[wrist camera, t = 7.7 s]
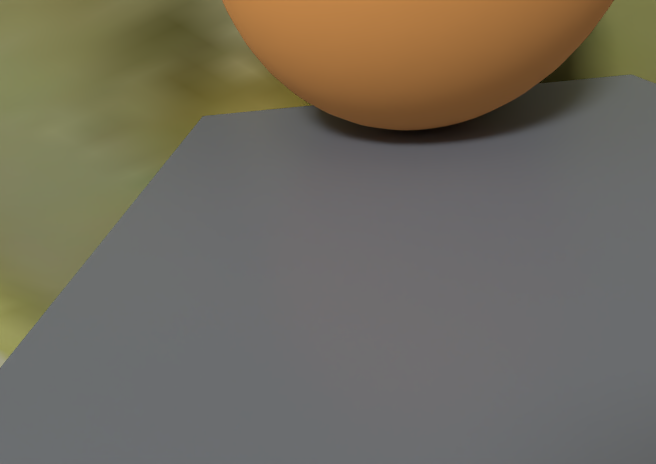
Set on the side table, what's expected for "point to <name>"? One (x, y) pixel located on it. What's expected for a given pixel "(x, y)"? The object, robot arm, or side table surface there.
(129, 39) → the side table surface
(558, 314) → the grey block
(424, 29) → the ball
